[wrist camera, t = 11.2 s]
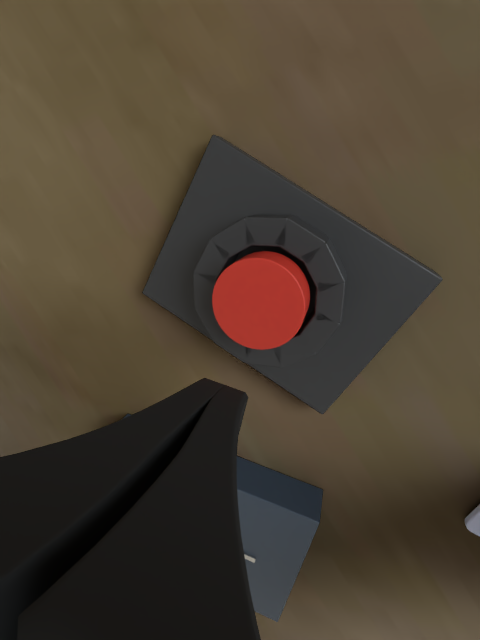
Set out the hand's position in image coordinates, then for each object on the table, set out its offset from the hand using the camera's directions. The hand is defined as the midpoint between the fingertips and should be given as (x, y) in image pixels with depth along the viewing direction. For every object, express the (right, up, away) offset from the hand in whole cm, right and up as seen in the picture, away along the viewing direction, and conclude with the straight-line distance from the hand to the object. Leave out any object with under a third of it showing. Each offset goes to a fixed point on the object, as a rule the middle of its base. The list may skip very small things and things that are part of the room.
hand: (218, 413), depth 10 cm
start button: (+2, +4, +6) cm, 8 cm away
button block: (+3, +5, +9) cm, 10 cm away
